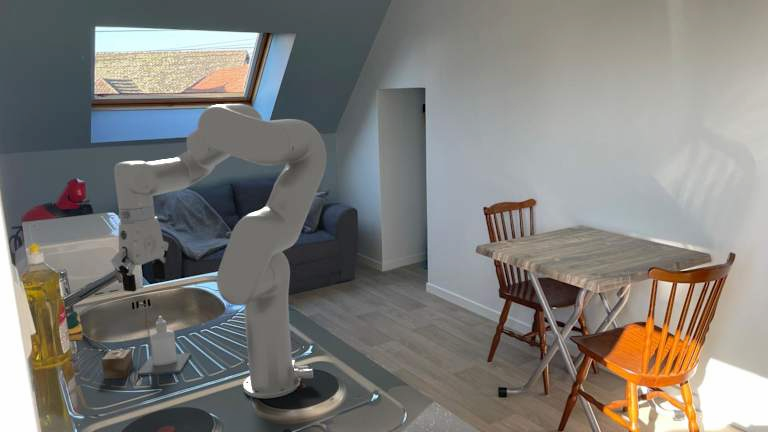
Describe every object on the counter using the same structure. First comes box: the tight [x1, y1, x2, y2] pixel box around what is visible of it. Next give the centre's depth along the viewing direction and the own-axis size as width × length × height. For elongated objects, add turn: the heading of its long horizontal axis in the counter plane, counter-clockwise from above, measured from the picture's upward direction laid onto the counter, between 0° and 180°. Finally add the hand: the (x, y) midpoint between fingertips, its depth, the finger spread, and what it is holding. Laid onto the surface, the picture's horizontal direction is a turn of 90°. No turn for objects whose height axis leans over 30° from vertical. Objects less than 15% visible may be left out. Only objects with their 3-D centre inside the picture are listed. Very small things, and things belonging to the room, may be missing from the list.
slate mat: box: [136, 352, 192, 376], centre depth 144 cm, size 10×10×1 cm
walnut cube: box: [101, 349, 134, 380], centre depth 140 cm, size 5×5×5 cm
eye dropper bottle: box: [149, 315, 178, 366], centre depth 143 cm, size 4×6×12 cm
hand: (145, 284), depth 139 cm, fingers open, 9 cm apart
